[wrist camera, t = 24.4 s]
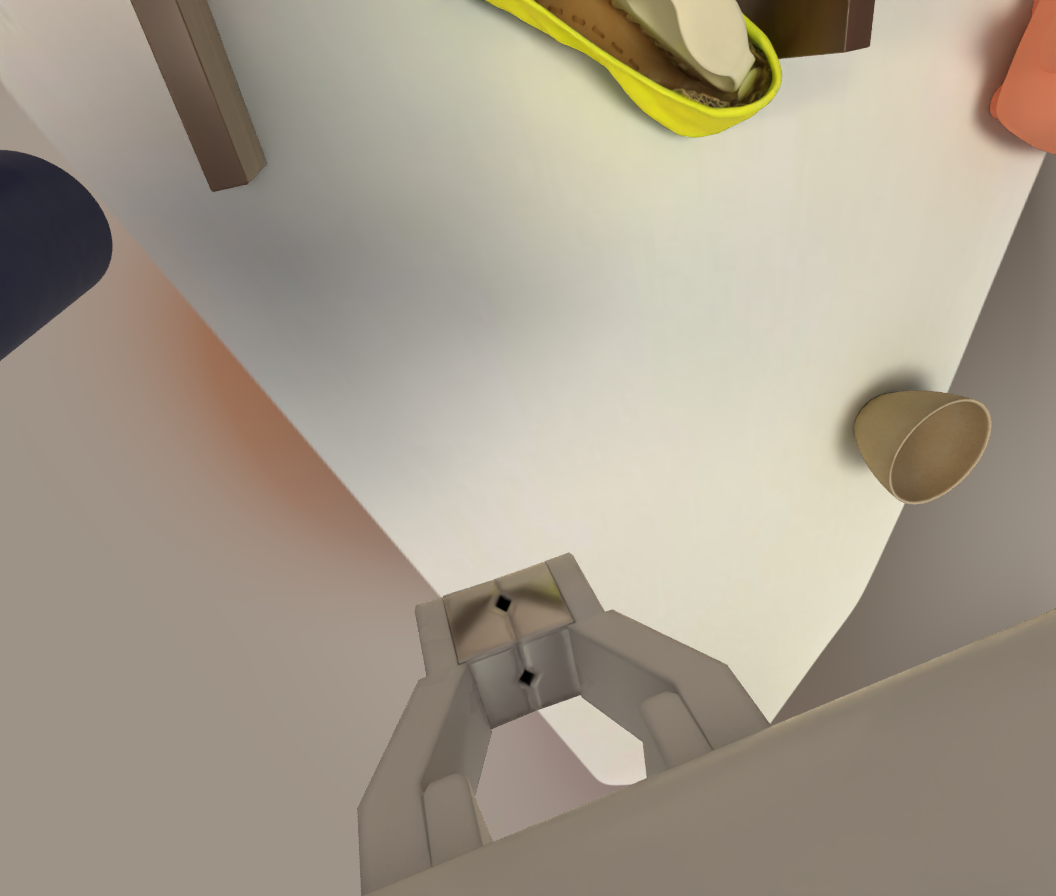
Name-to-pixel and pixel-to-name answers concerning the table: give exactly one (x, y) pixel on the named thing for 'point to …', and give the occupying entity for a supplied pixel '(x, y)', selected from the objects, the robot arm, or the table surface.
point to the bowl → (922, 441)
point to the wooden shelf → (228, 134)
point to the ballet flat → (669, 55)
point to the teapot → (1032, 83)
